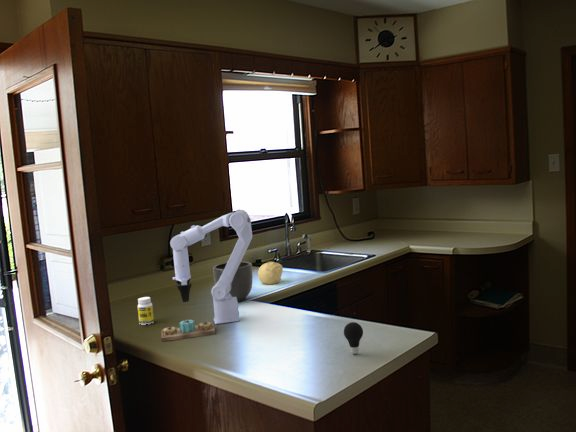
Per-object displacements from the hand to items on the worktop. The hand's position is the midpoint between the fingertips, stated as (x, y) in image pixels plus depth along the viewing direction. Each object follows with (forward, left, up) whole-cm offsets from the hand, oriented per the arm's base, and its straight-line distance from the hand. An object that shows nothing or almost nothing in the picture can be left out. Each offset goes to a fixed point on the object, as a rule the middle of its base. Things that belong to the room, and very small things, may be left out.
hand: (185, 299), depth 215 cm
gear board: (0, +14, -9) cm, 17 cm away
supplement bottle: (+16, -8, -10) cm, 20 cm away
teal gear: (0, +14, -8) cm, 16 cm away
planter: (-22, -25, -10) cm, 35 cm away
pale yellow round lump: (-43, -50, -10) cm, 67 cm away
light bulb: (-48, +60, -10) cm, 78 cm away
